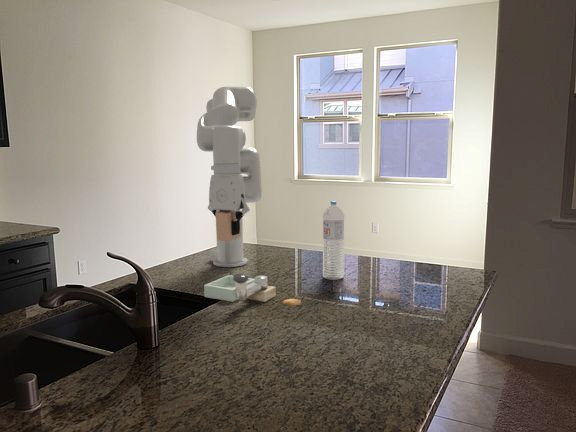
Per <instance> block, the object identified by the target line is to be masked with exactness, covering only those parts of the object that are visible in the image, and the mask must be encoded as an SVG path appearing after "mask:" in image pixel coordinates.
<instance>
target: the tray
mask: <svg viewBox="0 0 576 432" xmlns="http://www.w3.org/2000/svg"><path fill="white" fill-rule="evenodd" d="M233 276H234V275H232V274H227V275H225V276H223V277H221V278H218V279H216V280H213V281H211V282H209V283H206V284H204V285H203V290H204V298H209V299H213V300H215V299H216V300H222V301H227V302H232V303H233V302H236V301H237V300H238V299H236V290H235V281H234V280H233ZM253 282H255V278H251V277H248V280H247V285H249V284H251V283H253Z"/></svg>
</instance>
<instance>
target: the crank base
mask: <svg viewBox="0 0 576 432" xmlns="http://www.w3.org/2000/svg"><path fill="white" fill-rule="evenodd" d="M276 287H277V286H273V285H268V288H266V289H261V290H259V291H257V292H255V293H253V294H251V295H250V296H248V297H247V298H246V299H248V300H253V301H257V302H258V301H259V302H264V303H265V302H268V301H269V300H271V299H272V298H275V297H277V288H276ZM282 303H283V305H285V306H292V307H293V306H299V305H301V303H302V301H301V300H300V299H297V298H289V299H288V298H287V299H285V300H283V301H282Z"/></svg>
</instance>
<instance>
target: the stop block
mask: <svg viewBox="0 0 576 432" xmlns="http://www.w3.org/2000/svg"><path fill="white" fill-rule="evenodd" d="M215 214H216V217H215V229H216V228H217V239H216V241H217V240H220V241H231V240H234V239H236V238H239V237H241V231H240V233H239V234H236V235H232V228H231V221H233V218H232V213H231V211H225V210H223V211H220V212H216V213H215ZM236 215H237V214H236Z"/></svg>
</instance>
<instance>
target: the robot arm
mask: <svg viewBox="0 0 576 432" xmlns="http://www.w3.org/2000/svg"><path fill="white" fill-rule="evenodd" d="M257 102H258V101H257V95H256V93H255V91H254V90H253V88H251V87H249V86H221V87H219V88H216V90H215V91H214V92H213V94H212V98H211V99H209V100H208V101H207V102H206V105H205V106H206V112H205V113H204V114H202V115H201V116H200V117H199V119H198V122H197V125H196V128H197V129H196V144H197V146H198V148H199V150H201V151H203V152H210V153H211V152H212V159H213V160H212V161H213V165H211V166H210V170H211V171H213V174H211V177H210V182H209V191H208V192H209V193H208V206H207V210H209V211H210V212H211V213H212V214H213V215H214V217H215V218H216V214H215V213H216V212H220V211H223V210H225V211H231V213H232V218H233V221H231V228H232V235H236V234H239V233H240V231H241V237H239V238H236V239H234V240H231V241H220V240H217V228H216V227H215V234H216V236H215V237H216V238H215V239H216V249H211V250H210V252H209V256H211V257H214V259H213V260H212V262H213V263H212V265H214V266H216V267H220V268H221V267H222V268H234V267H236V268H237V267H241V266H244V265H247V264H248V262H249V261H248V259H249V258H247V257H245V256H244V237H243V236H244V232H243V231H244V229H243V217H244V216H245V215H247V213H249V212H250V208H249V206H248V204H249V203H250V204H252V203H253V204H254V203H257V202H259V201H260V200H261V198H262V190H263V189H262V175H261V172H262V171H261V160H260V159H261V158H260V154H259V151H258V150H257V148H254V147H244V146H245V145H246V142H247V141H246V140H247V136H246V132H245V131H244V129H243V128H242V127H241V126H240V125H236V124H237V123H238V122H251V121H254V119H255V117H256V111H257V106H258V104H257ZM243 175H247V176H243ZM236 214H237V215H236Z"/></svg>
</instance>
